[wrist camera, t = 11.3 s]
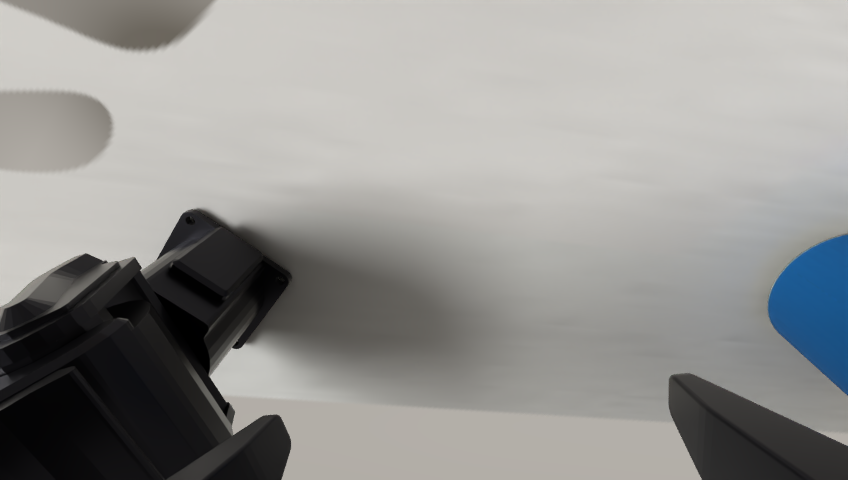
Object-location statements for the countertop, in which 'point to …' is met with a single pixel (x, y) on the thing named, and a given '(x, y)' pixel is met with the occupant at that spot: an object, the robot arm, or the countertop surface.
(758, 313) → the countertop surface
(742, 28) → the countertop surface
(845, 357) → the beverage can
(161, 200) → the countertop surface
